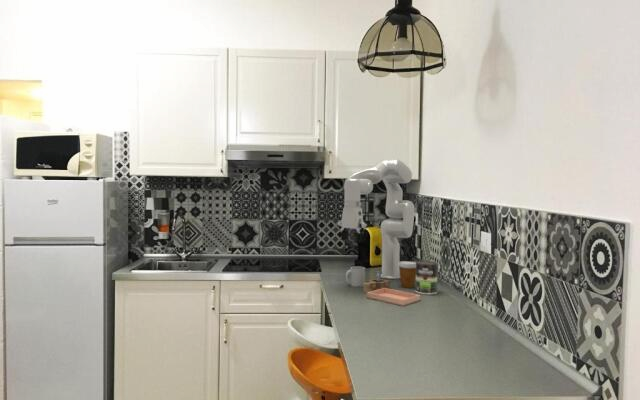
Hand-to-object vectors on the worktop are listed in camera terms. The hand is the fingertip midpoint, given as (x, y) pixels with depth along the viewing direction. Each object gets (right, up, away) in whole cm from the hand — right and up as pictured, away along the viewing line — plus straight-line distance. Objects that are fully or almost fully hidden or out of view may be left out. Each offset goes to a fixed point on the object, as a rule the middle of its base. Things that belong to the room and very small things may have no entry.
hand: (351, 240), depth 222 cm
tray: (+17, -25, -15) cm, 34 cm away
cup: (+3, -24, +13) cm, 27 cm away
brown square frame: (+11, -24, +3) cm, 27 cm away
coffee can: (+35, -25, -1) cm, 43 cm away
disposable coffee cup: (+29, -24, +11) cm, 39 cm away
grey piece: (+13, -24, +5) cm, 28 cm away
